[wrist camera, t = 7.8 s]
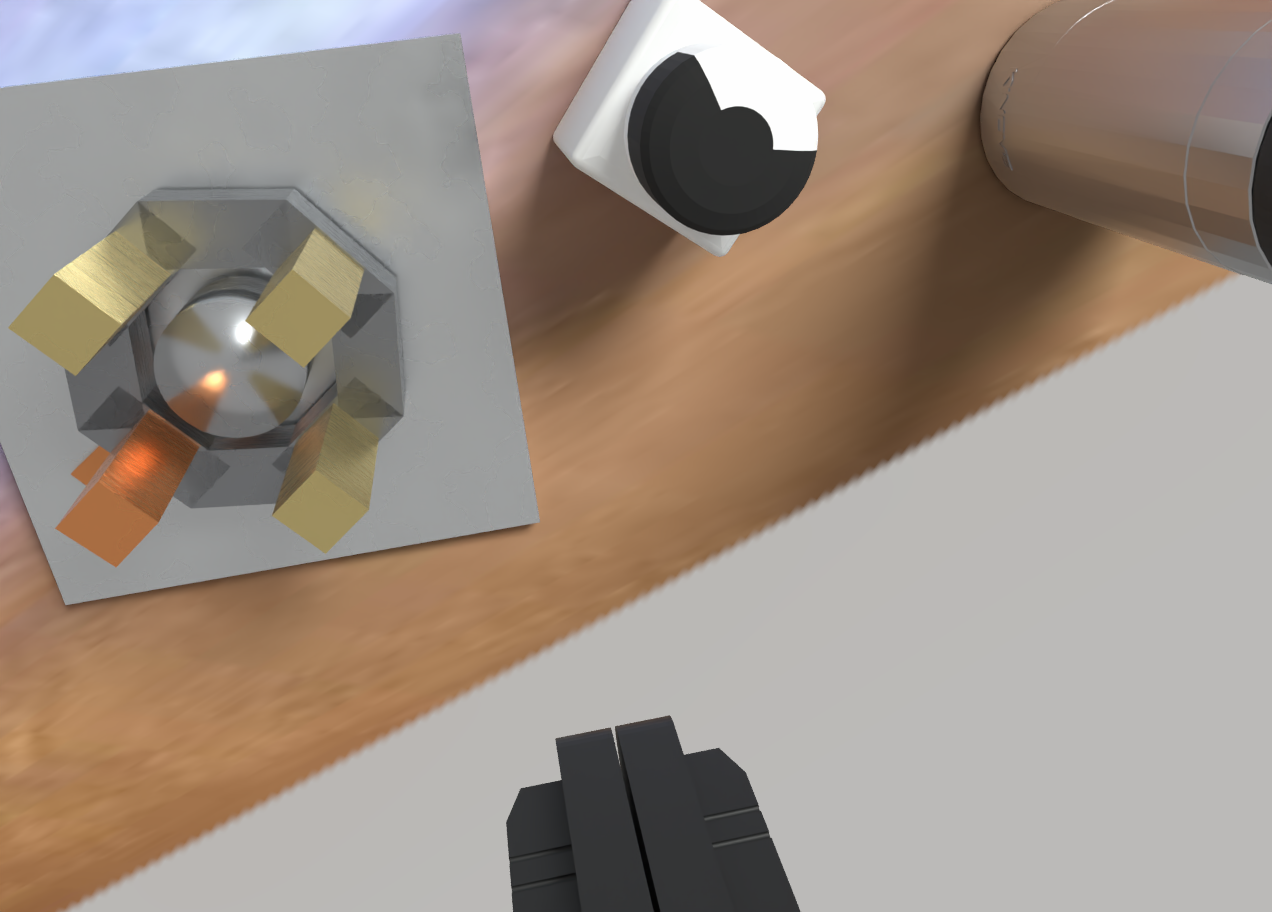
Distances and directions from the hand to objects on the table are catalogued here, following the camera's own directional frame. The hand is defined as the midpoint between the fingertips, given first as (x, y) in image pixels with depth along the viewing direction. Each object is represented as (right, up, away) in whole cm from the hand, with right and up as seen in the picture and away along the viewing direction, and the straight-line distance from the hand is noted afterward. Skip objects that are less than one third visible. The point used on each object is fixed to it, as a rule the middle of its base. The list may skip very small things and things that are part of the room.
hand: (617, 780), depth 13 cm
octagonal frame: (-16, +9, +30) cm, 36 cm away
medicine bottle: (+1, +19, +31) cm, 36 cm away
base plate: (-16, +9, +31) cm, 37 cm away
